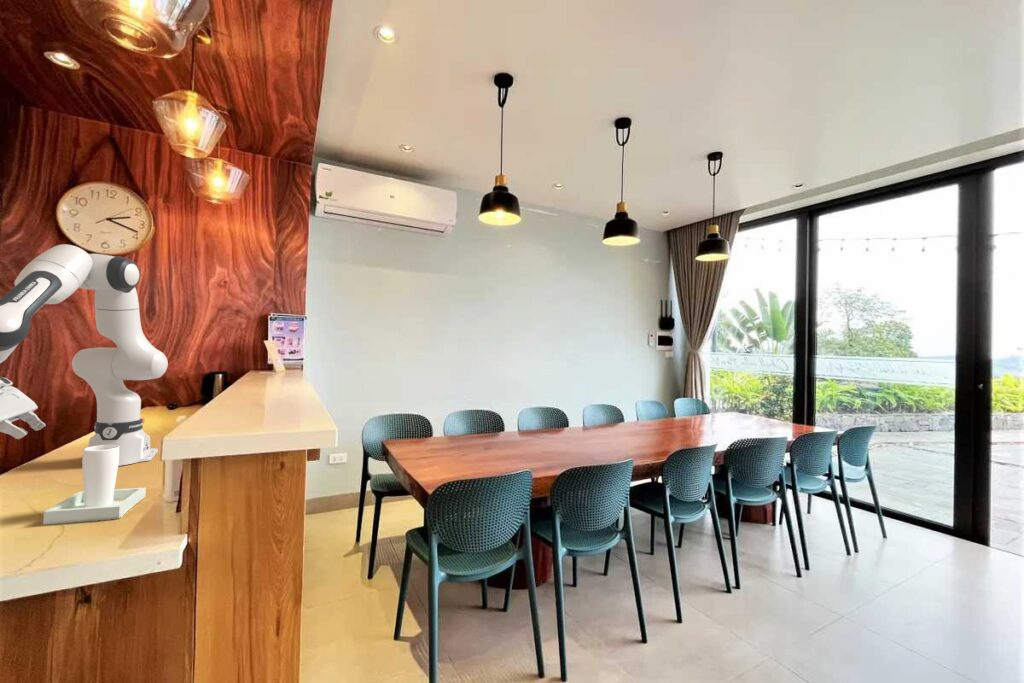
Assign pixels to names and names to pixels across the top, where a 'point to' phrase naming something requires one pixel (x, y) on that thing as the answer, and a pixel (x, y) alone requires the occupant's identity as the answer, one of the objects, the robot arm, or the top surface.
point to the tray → (92, 508)
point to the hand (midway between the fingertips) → (33, 432)
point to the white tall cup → (100, 474)
